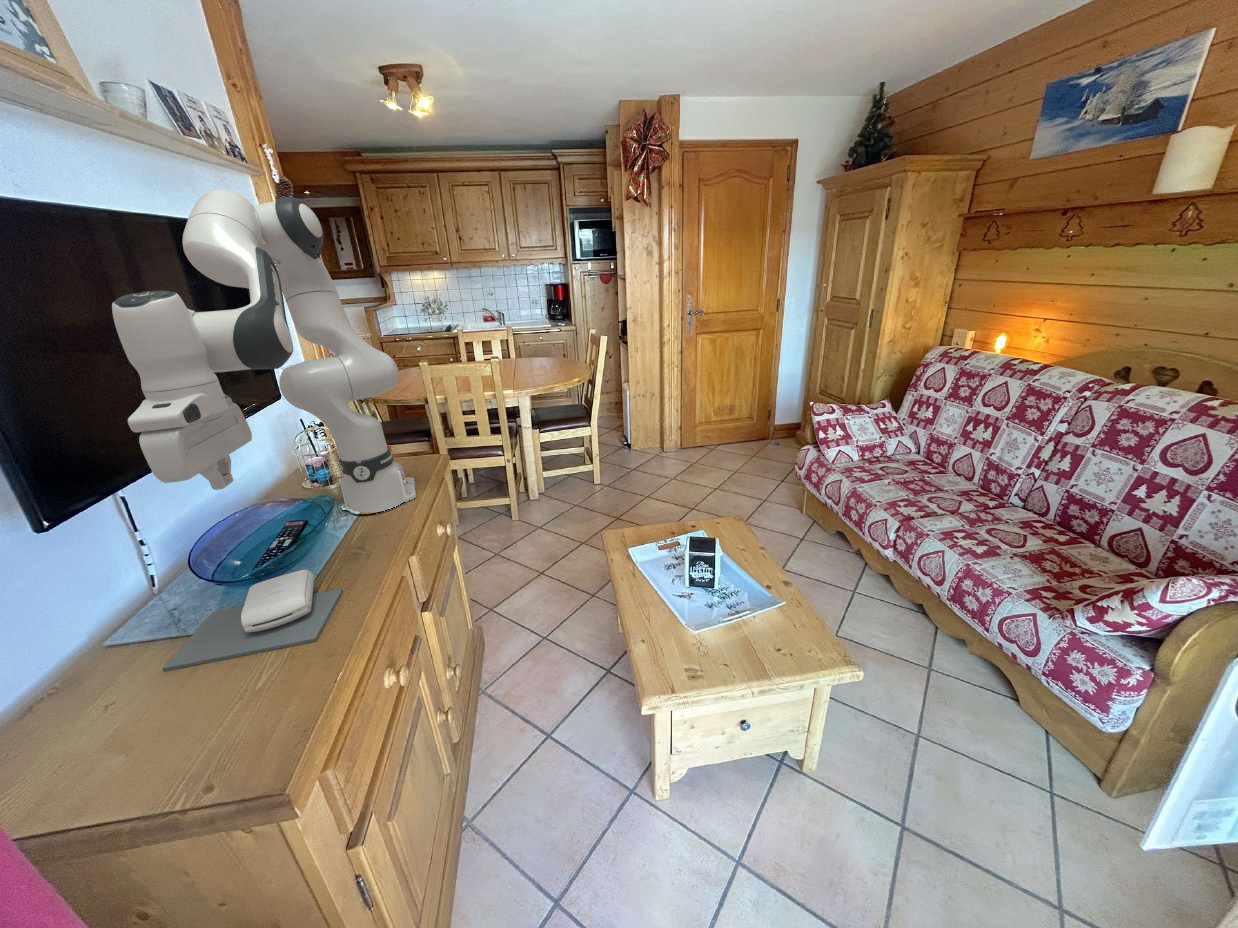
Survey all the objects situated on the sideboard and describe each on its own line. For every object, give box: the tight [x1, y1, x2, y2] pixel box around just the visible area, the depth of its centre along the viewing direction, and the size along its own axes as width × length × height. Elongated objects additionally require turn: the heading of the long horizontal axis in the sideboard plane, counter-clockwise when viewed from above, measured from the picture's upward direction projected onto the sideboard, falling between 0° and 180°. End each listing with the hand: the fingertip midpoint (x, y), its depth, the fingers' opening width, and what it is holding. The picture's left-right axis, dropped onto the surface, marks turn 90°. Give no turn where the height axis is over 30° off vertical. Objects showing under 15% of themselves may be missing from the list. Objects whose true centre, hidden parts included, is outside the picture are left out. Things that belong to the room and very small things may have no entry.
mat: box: [162, 588, 344, 672], centre depth 83 cm, size 14×22×1 cm, turn 102°
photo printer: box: [241, 569, 315, 632], centre depth 85 cm, size 10×4×12 cm
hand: (224, 486), depth 79 cm, fingers closed
